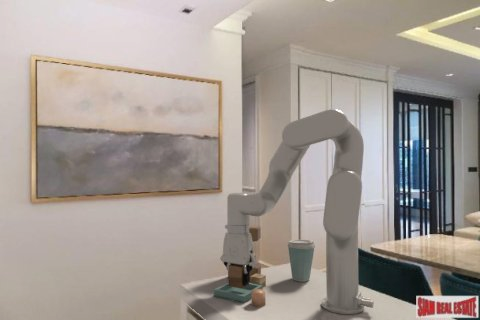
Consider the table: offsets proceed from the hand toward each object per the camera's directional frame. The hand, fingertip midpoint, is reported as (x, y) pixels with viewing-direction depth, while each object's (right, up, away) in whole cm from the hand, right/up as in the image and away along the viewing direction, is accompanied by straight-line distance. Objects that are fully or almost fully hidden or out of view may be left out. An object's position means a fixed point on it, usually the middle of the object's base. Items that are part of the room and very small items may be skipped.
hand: (238, 282), depth 118 cm
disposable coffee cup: (+24, -4, +15) cm, 29 cm away
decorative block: (+3, -5, +17) cm, 18 cm away
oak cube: (+7, -4, +7) cm, 11 cm away
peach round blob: (+6, -4, -9) cm, 11 cm away
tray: (0, -4, 0) cm, 4 cm away
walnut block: (0, -1, 0) cm, 1 cm away
